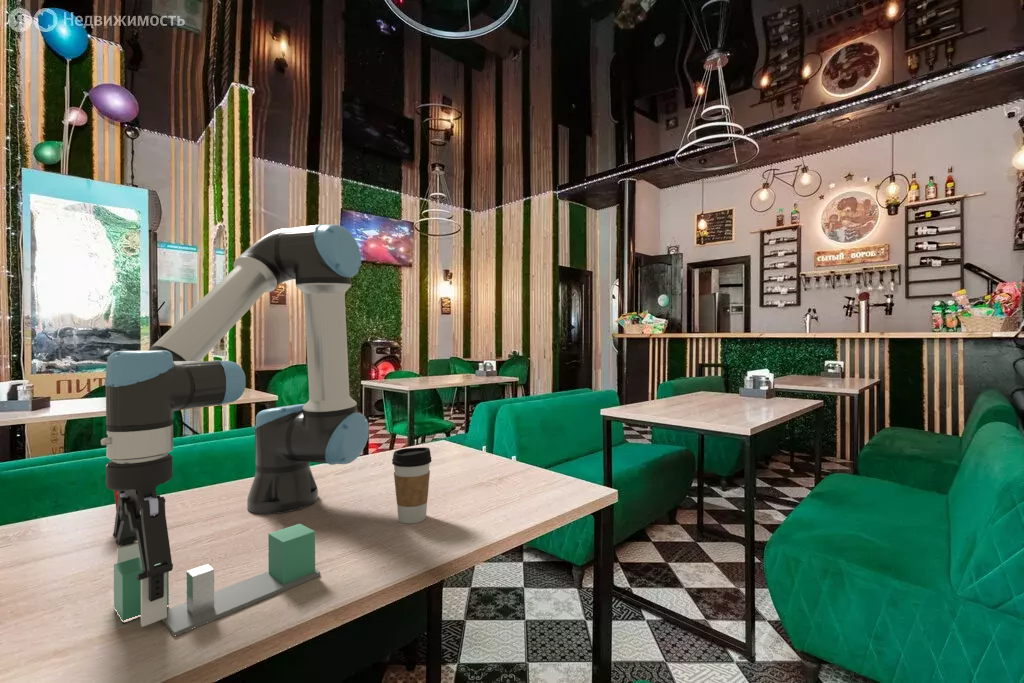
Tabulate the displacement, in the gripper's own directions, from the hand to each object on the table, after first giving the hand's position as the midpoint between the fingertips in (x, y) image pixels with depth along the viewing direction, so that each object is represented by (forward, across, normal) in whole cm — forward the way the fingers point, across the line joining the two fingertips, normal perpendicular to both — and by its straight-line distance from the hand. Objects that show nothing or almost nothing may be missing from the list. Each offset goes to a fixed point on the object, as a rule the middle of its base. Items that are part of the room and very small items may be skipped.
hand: (140, 603), depth 66 cm
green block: (+1, 0, 0) cm, 1 cm away
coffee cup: (+1, +4, +46) cm, 46 cm away
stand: (+1, +8, +11) cm, 14 cm away
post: (+1, +8, +5) cm, 10 cm away
